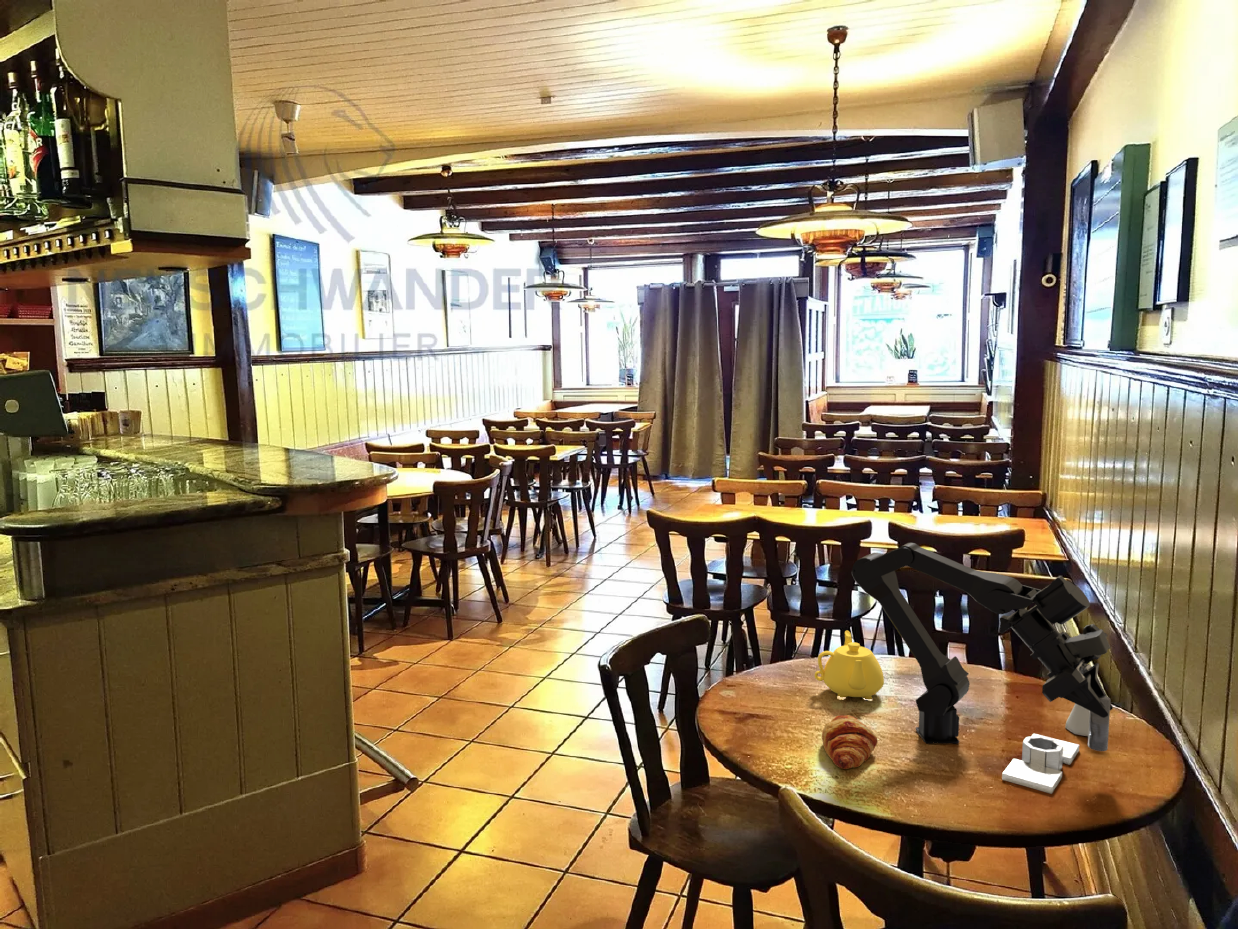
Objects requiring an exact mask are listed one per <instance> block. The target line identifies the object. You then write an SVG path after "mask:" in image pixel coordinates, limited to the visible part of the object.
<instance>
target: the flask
mask: <svg viewBox="0 0 1238 929" xmlns="http://www.w3.org/2000/svg"><path fill="white" fill-rule="evenodd" d="M1089 717H1090V711H1089V710H1087V709H1085V708H1084V707H1081V706H1079V705H1077V704H1075V703H1074V706H1073V707H1072V709H1071V712H1070V714H1069V715H1068V718H1067V719H1066V722H1065V726H1064V727H1065V729H1066V730H1068V731H1070V732H1071V733H1072V734H1074V735H1079V736H1083V737H1084V736H1085V737H1088V734H1089Z"/></svg>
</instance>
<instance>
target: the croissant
mask: <svg viewBox="0 0 1238 929" xmlns="http://www.w3.org/2000/svg"><path fill="white" fill-rule="evenodd" d="M821 741H822V745H823V748H824V750H825V753H826V755H827V756H828V757H829V758H830V759H831V760H832V762H833V764H834V765H835V766H836V767H838V768H840V769H843V770H847V769H851V768H858V767H860V766H862V764H863V763H864V762H866V761H867V760H869V759H870V756H871V754H872V752H873V751H874V750H875V748H876V747H877V745H878V741H879V740H878V738H877V735H876V734H875V733H874V731H873V730H872V729H871V728H869V727H868V726H867V725H866V724H865V723H863V722H861V721H860V720H859V719H858V718H857V717H854V716H852V715H851V714H850V715H849V714H848V715H847V714H845V715H844V714H843V715H837V716H835V717H833V718H832V719H831V721H830V722H827V723H825V725H824V727H823V729H822V731H821Z"/></svg>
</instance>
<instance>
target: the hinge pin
mask: <svg viewBox="0 0 1238 929" xmlns="http://www.w3.org/2000/svg"><path fill="white" fill-rule="evenodd" d="M1097 697H1098V698H1099V699H1100V701H1101V702H1102V704H1103V705H1104V707H1105V708H1106V710H1107V711H1108V713H1109V715H1108V716H1107V717H1105V718H1103V717H1101V716H1099V715H1097V714H1095V713H1093V712H1091V711H1090V717H1089V734H1088V736H1087V747H1088V749H1091V750H1093V751H1097V752H1106V751H1107V750H1108V747H1109V746H1108V745H1109V732H1110V731H1109V729H1110V717H1111V716H1110V714H1111V710H1110V703H1111V698H1110V697H1109V696H1108V695H1107V696H1104V695H1097Z"/></svg>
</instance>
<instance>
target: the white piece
mask: <svg viewBox="0 0 1238 929" xmlns="http://www.w3.org/2000/svg"><path fill="white" fill-rule="evenodd" d="M1079 752H1080V744H1078V743H1073V742H1069V741H1066V740H1061V739H1057V738H1053V737H1050V736H1045V735H1042V734H1038V733H1032V735H1031V736H1026V737H1025V738H1024V739H1023V741H1022V752H1021V759H1018V758H1012V760H1011V762H1010V763H1009V764H1008V765H1007V767H1005V769H1004V770H1003V772H1002V774H1001V780H1002V781H1006V782H1009V783H1011V784H1012V783H1013V784H1016V785H1020V786H1023V787H1027V788H1031V789H1034V790H1037V791H1040V792H1044V793H1047V794H1051V795H1052V794H1053V793H1054V791H1055V789H1056V788H1057V787H1058V785H1059V783H1060V781H1061V780H1062V778H1063V771H1061V770H1062V768H1063V764H1066V765H1070V766H1071V764H1072V763H1073V761H1074V759H1075V758H1076V756H1077V755H1078V753H1079Z"/></svg>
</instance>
